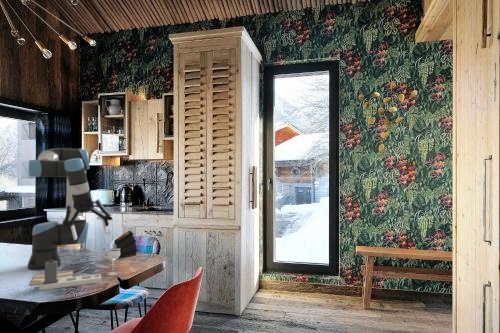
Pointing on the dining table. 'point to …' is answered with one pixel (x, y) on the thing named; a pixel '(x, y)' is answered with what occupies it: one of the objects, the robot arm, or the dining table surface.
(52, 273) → the gray knobbed block
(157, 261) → the dining table surface
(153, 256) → the dining table surface
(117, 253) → the wineglass
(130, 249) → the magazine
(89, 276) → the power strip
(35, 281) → the oak board
